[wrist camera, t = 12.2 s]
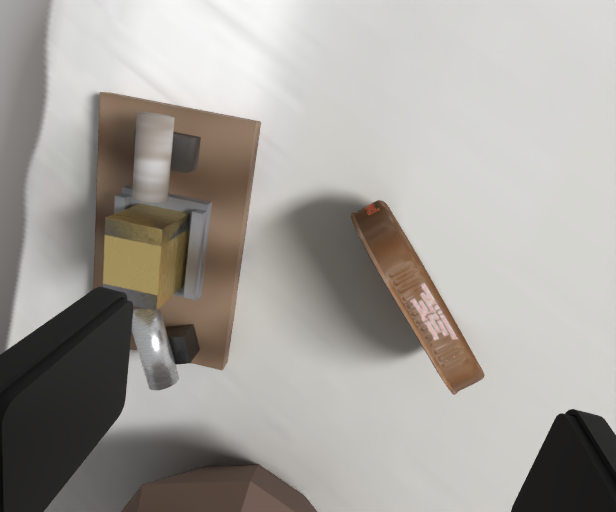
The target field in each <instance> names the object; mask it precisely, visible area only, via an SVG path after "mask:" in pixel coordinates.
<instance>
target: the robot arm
mask: <svg viewBox="0 0 616 512" xmlns="http://www.w3.org/2000/svg"><path fill="white" fill-rule="evenodd" d="M132 319H133V302H132V301H129V300H127V295H126V294H125V293H124V292H120V291H116V290H112V289H108V288H105V287H100V286H99V287H97V288H95V289H94V290H92V291H91V292H89V293H88V294H86V295H85V296H84V297H82V298H81V299H79V300H78V301H76V302H75V303H74V304H72V305H71V306H69V307H68V308H66V309H65V310H64V311H62V312H61V313H59V314H58V315H56V316H55V317H54V318H52V319H51V320H49V321H48V322H46V323H45V324H44V325H42V326H41V327H39V328H38V329H36V330H35V331H34V332H32V333H31V334H29V335H28V336H26V337H25V338H24V339H22V340H21V341H19V342H18V343H16V344H15V345H14V346H12V347H11V348H9V349H8V350H6V351H5V352H4V353H2V354H1V355H0V512H44V510H45V509H46V508H47V506H48V505H49V504H50V503H51V501H52V500H53V499H54V498H55V496H56V495H57V494H58V493H59V491H60V490H61V489H62V488H63V486H64V485H65V484H66V483H67V481H68V480H69V479H70V478H71V476H72V475H73V474H74V473H75V471H76V470H77V469H78V467H79V466H80V465H81V464H82V462H83V461H84V460H85V459H86V457H87V456H88V455H89V454H90V452H91V451H92V450H93V449H94V447H95V446H96V445H97V444H98V442H99V441H100V440H101V439H102V437H103V436H104V435H105V433H106V432H107V431H108V430H109V428H110V427H111V426H112V425H113V423H114V422H115V421H116V420H117V418H118V417H119V415H120V414H121V412H122V409H123V407H124V403H125V397H126V386H127V374H128V363H129V352H130V341H131V330H132ZM511 512H616V435H615V434H614V432H613V431H612V429H611V428H610V426H609V425H608V423H607V422H606V421H605V419H604V418H603V417H601V416H598V415H594V414H590V413H586V412H582V411H578V410H574V409H571V410H568V411H567V412H566V413H565V414H559V415H558V416H557V417H556V418H555V420H554V422H553V424H552V426H551V428H550V431H549V433H548V435H547V437H546V439H545V441H544V443H543V445H542V447H541V449H540V451H539V453H538V455H537V457H536V459H535V461H534V463H533V465H532V468H531V470H530V472H529V474H528V476H527V478H526V480H525V482H524V484H523V486H522V488H521V490H520V492H519V494H518V496H517V498H516V500H515V502H514V504H513V507H512V510H511Z"/></svg>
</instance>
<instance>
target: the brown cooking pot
mask: <svg viewBox="0 0 616 512" xmlns="http://www.w3.org/2000/svg"><path fill="white" fill-rule="evenodd" d="M121 512H317V511H316V509H315V508H314V507H313V506H312V504H311V503H310V502H309V501H308V499H307V498H306V497H305V496H304V495H303V494H301V493H300V492H298V491H297V490H295V489H294V488H292V487H291V486H290V485H288V484H287V483H285V482H284V481H282V480H281V479H279V478H278V477H276V476H275V475H274V474H272V473H271V472H269V471H268V470H266V469H265V468H263V467H262V466H261V465H232V466H205V467H202V468H198V469H195V470H191V471H188V472H184V473H181V474H177V475H174V476H170V477H167V478H163V479H160V480H156V481H153V482H149V483H146V484H143V485H142V486H141V487H140V489H139V490H138V491H137V492H136V494H135V495H134V496H133V497H132V499H131V500H130V501H129V503H128V504H127V505H126V506H125V508H124V509H123V510H122V511H121Z"/></svg>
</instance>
